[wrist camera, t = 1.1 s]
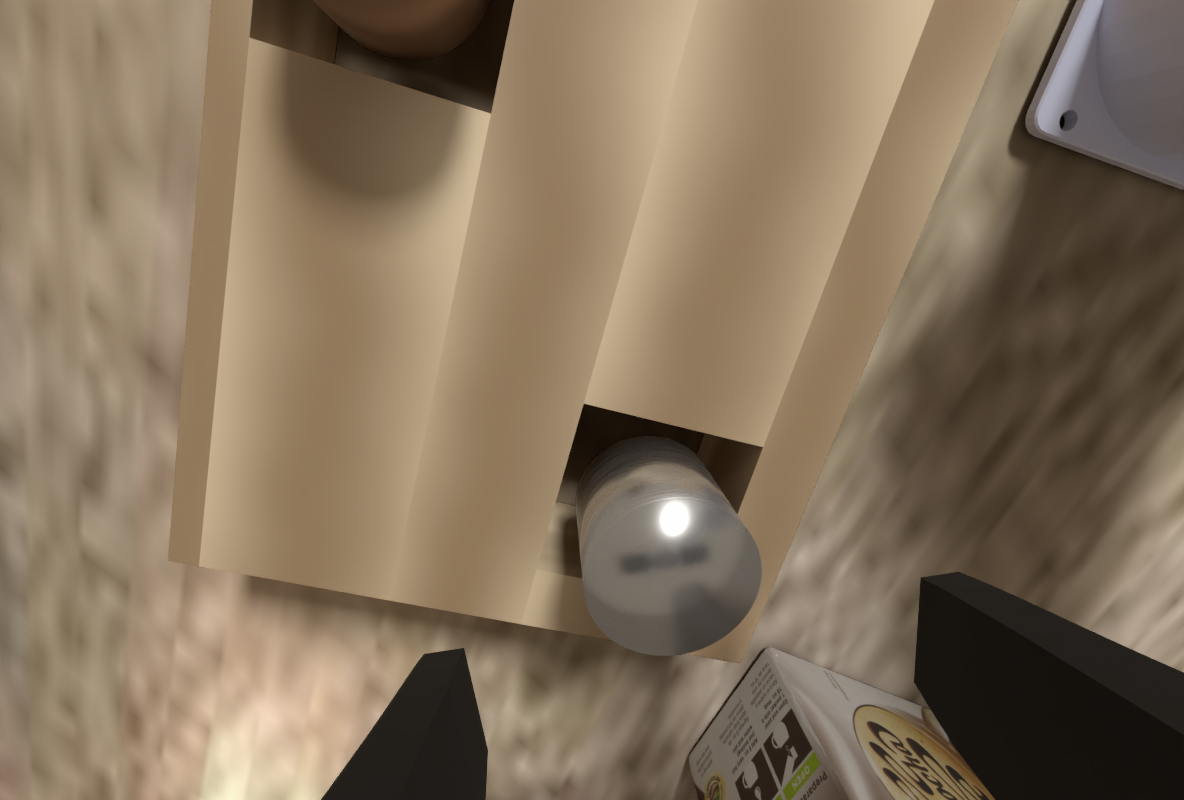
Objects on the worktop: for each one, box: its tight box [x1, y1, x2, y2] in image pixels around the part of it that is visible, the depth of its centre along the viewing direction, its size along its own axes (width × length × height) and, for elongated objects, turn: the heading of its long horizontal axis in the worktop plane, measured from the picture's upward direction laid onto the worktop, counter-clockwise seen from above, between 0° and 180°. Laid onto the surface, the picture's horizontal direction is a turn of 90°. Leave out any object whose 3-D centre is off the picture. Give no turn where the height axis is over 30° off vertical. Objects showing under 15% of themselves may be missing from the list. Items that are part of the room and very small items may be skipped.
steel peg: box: [575, 436, 762, 656], centre depth 13 cm, size 4×4×4 cm
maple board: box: [168, 0, 1019, 664], centre depth 14 cm, size 15×18×4 cm
